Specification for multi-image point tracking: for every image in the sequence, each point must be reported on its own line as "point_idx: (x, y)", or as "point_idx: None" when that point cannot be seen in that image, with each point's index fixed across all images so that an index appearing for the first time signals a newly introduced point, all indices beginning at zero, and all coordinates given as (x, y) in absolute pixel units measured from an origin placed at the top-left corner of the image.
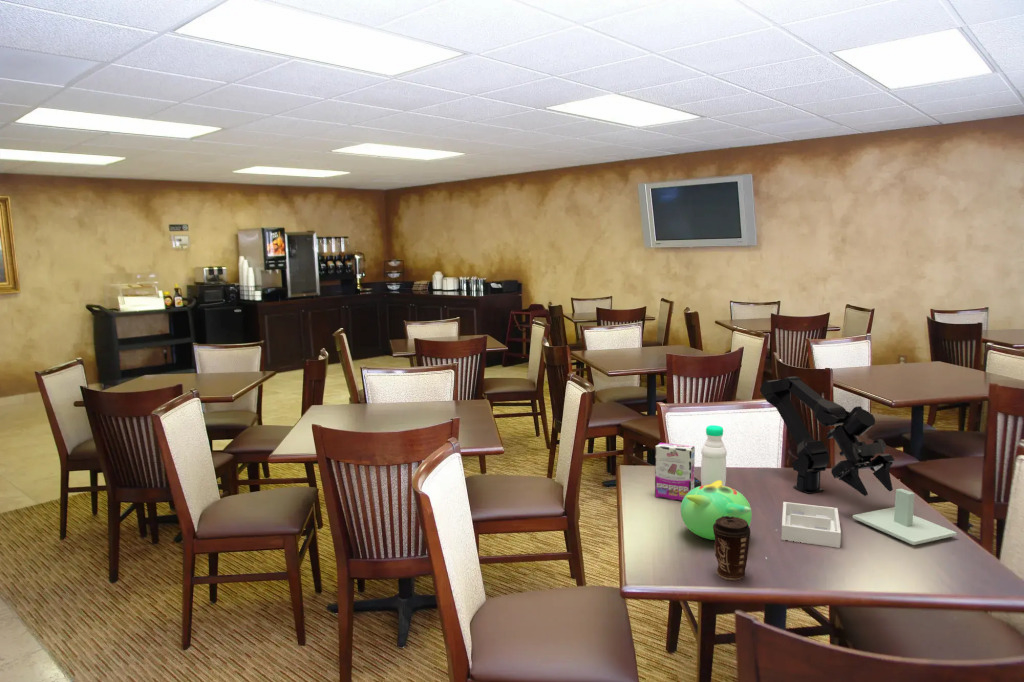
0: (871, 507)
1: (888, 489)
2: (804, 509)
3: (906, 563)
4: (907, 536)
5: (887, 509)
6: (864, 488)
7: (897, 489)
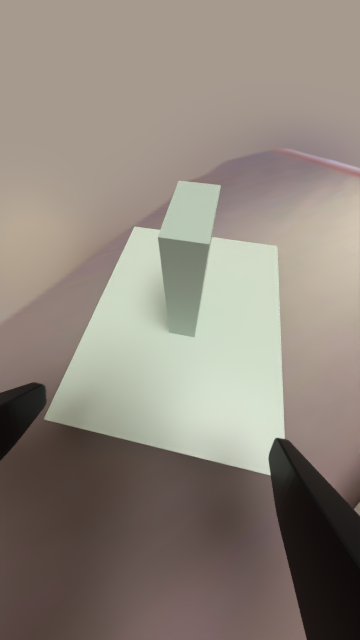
0: (42, 533)
1: (34, 414)
2: None
3: (344, 237)
4: (263, 265)
5: (91, 418)
6: (317, 482)
7: (198, 241)
